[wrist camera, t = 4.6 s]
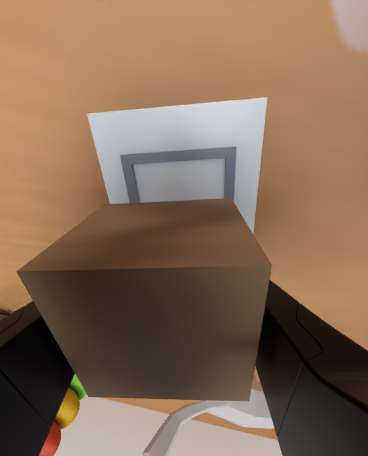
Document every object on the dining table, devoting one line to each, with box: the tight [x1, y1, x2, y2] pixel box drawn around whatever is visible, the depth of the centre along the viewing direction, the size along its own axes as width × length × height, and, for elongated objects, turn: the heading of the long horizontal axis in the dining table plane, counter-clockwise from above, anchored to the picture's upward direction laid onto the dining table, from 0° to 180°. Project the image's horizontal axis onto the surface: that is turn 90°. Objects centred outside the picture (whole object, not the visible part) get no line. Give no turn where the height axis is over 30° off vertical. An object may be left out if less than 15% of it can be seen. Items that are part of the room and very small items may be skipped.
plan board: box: [87, 97, 267, 233], centre depth 18 cm, size 14×16×2 cm
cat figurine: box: [143, 375, 274, 456], centre depth 21 cm, size 4×20×14 cm, turn 62°
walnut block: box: [16, 198, 272, 401], centre depth 8 cm, size 6×6×5 cm
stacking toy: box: [39, 374, 87, 456], centre depth 17 cm, size 8×8×19 cm
